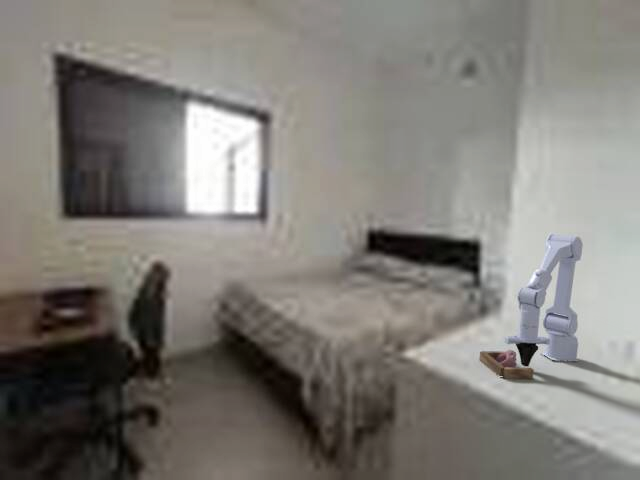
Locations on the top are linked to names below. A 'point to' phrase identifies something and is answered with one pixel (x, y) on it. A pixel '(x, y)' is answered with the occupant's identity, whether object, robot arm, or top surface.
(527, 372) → the docking bay
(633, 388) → the top surface
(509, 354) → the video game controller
